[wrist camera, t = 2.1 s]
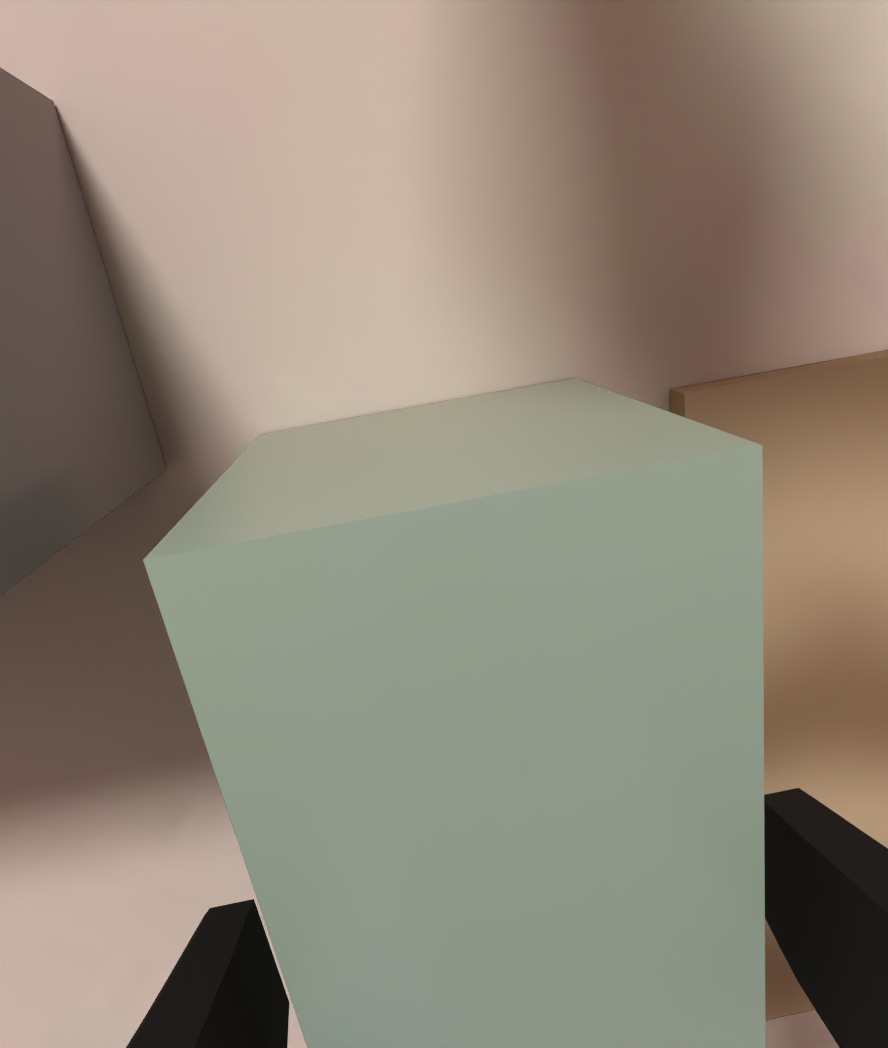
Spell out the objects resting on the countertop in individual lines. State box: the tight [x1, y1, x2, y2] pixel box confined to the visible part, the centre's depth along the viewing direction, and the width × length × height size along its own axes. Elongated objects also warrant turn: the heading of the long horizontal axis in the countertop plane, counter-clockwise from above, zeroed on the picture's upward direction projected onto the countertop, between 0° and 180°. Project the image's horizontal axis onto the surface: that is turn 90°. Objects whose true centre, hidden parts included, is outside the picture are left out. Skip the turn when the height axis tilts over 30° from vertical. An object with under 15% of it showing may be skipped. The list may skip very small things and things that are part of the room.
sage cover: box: [143, 378, 765, 1048], centre depth 11 cm, size 13×6×6 cm, turn 9°
